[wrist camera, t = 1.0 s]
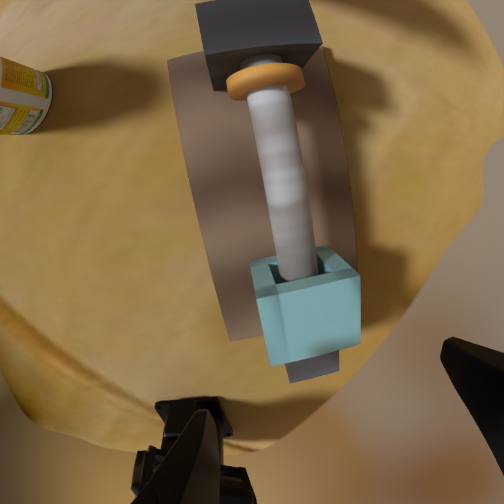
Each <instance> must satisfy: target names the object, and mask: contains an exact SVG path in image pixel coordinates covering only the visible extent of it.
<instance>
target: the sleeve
mask: <svg viewBox="0 0 504 504" xmlns="http://www.w3.org/2000/svg"><path fill="white" fill-rule="evenodd" d="M316 256H317V265H318V274H319V275H317V276H313V277H308V278H304V279H299V280H295V281H290V282H285V283H281V280H280V274H279V268H278V262H277V256H272V257H267V258H262V259H257V260H252V261H249V263H250V268H251V274H252V279H253V285H254V290H255V295H256V300H257V305H258V310H259V315H260V320H261V324H262V329H263V334H264V339H265V344H266V348H267V353H268V358H269V362H270V367H271V366H276V365H280V364H285V363H290V362H294V361H298V360H303V359H307V358H311V357H315V356H319V355H323V354H326V353H330V352H334V351H337V350H341V349H344V348H348V347H351V346H355V345H358V344H360V332H361V282H360V275H359V274H358V273H357V272H356V271H355V270H354V269H353V268H352V267H351V266H350V265H349V264H348V263H347V262H345V261H344V260H343V259H342V258H341V257H340V256H339V255H338V254H337V253H336V252H334V251H333V250H332V249H331V248H330V247H329V246H328V245H325V246H320V247H316Z"/></svg>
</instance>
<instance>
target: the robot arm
mask: <svg viewBox="0 0 504 504" xmlns="http://www.w3.org/2000/svg"><path fill="white" fill-rule="evenodd" d="M440 359H441V362H442V364H443V366H444V368H445V370H446V372H447V374H448V376H449V378H450V379H451V382H452V383H453V386H454V387H455V389H456V391H457V392H458V394H459V396H460V397H461V399H462V401H463V402H464V404H465V405H466V407H467V409H468V410H469V412H470V414H471V415H472V417H473V419H474V420H475V422H476V424H477V425H478V427H479V429H480V431H481V432H482V434H483V436H484V438H485V440H486V442H487V443H488V445H489V447H490V449H491V451H492V453H493V455H494V457H495V458H496V461H497V463H498V465H499V467H500V469H501V471H502V473H503V475H504V353H502V352H499V351H496V350H493V349H490V348H487V347H484V346H480V345H477V344H474V343H471V342H468V341H465V340H462V339H459V338H455V337H450V338H448V339H446V340H445V341H444V342H443V346H442V350H441V355H440ZM154 407H155V409H156V411H157V412H158V414H159V415H160V417H161V418H162V420H163V421H164V423H165V426H164V431H163V439H162V444H161V450H160V449H157V448H156V447H154V446H151V445H149V448H148V450H147V451H146V450H145V451H138V452H137V455H136V459H135V464H134V469H133V476H132V483H131V490H132V491H133V492H134V494H135V499H134V501H133V502H132V503H131V504H257V500H256V497H255V494H254V491H253V489H252V486H251V483H250V480H249V477H248V474H247V471H246V468H243V467H232V466H226V465H224V464H223V437H230V436H232V435H233V430H232V428H231V426H230V424H229V422H228V419H227V417H226V415H225V413H224V410H223V408H222V406H221V403H220V401H219V399H217V398H215V397H212V398H203V399H193V400H181V401H166V402H156V403H155V406H154Z"/></svg>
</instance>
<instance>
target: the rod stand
mask: <svg viewBox="0 0 504 504" xmlns="http://www.w3.org/2000/svg"><path fill="white" fill-rule="evenodd" d="M195 6H196V11H197V17H198V22H199V27H200V33H201V38H202V43H203V49H204V51H202V52H198V53H193V54H189V55H185V56H181V57H177V58H173V59H169V60H167V64H168V70H169V76H170V83H171V89H172V94H173V100H174V106H175V111H176V117H177V122H178V128H179V133H180V138H181V143H182V148H183V153H184V158H185V163H186V168H187V172H188V177H189V182H190V186H191V191H192V195H193V200H194V204H195V209H196V213H197V217H198V221H199V226H200V230H201V234H202V238H203V242H204V246H205V250H206V254H207V258H208V262H209V266H210V270H211V274H212V278H213V282H214V285H215V289H216V293H217V297H218V300H219V304H220V308H221V311H222V315H223V318H224V322H225V325H226V329H227V332H228V336H229V339H230V341H234V340H240V339H245V338H250V337H256V336H261V335H264V334H263V329H262V324H261V320H260V315H259V310H258V305H257V300H256V295H255V290H254V285H253V279H252V274H251V268H250V263H249V261H252V260H257V259H262V258H267V257H272V256H277V262H278V268H279V274H280V280H281V283H285V282H290V281H295V280H299V279H304V278H308V277H313V276H317V275H319V274H318V265H317V256H316V247H320V246H325V245H328V246H329V247H330V248H331V249H332V250H333V251H334V252H336V253H337V254H338V255H339V256H340V257H341V258H342V259H343V260H344V261H345V262H347V263H348V264H349V265H350V266H351V267H352V268H353V269H354V270H355V271H356V272H357V254H356V239H355V226H354V215H353V205H352V196H351V187H350V180H349V172H348V165H347V158H346V152H345V146H344V140H343V134H342V129H341V124H340V118H339V113H338V109H337V104H336V99H335V95H334V90H333V86H332V82H331V78H330V74H329V70H328V66H327V62H326V59H325V55H324V51H323V48H322V44H323V43H322V39H321V36H320V33H319V29H318V26H317V23H316V20H315V17H314V14H313V11H312V8H311V6H310V3H309V0H214V1H208V2H203V3H198V4H195ZM285 366H286V370H287V374H288V378H289V381H290V383H294V382H298V381H302V380H306V379H310V378H314V377H318V376H322V375H326V374H330V373H333V372H337V371H339V350H337V351H334V352H330V353H326V354H323V355H319V356H315V357H311V358H307V359H303V360H298V361H294V362H290V363H285Z"/></svg>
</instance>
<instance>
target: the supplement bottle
mask: <svg viewBox="0 0 504 504" xmlns="http://www.w3.org/2000/svg"><path fill="white" fill-rule="evenodd" d="M51 98H52V86H51V81H50V79H49V77H48V76H47V75H46V74H45V73H42V72H40V71H38V70H35V69H33V68H30V67H27V66H24V65H22V64H19V63H16V62H13V61H11V60H8V59H5V58H2V57H0V134H4V135H24V134H27V133H29V132H31V131H33V130H34V129H35V128H36V127H37V126H38V125H39V124H40V123H41V122H42V120H43V119H44V117H45V115H46V113H47V111H48V109H49V106H50V103H51Z"/></svg>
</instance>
